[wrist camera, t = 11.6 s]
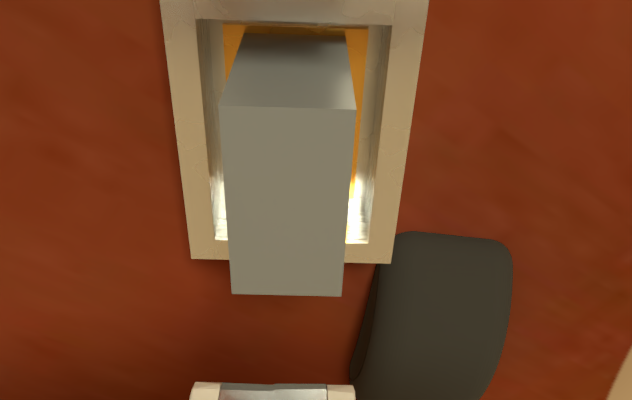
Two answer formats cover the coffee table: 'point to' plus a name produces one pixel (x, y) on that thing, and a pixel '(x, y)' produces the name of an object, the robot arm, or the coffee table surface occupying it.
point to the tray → (369, 89)
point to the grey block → (287, 163)
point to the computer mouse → (434, 319)
